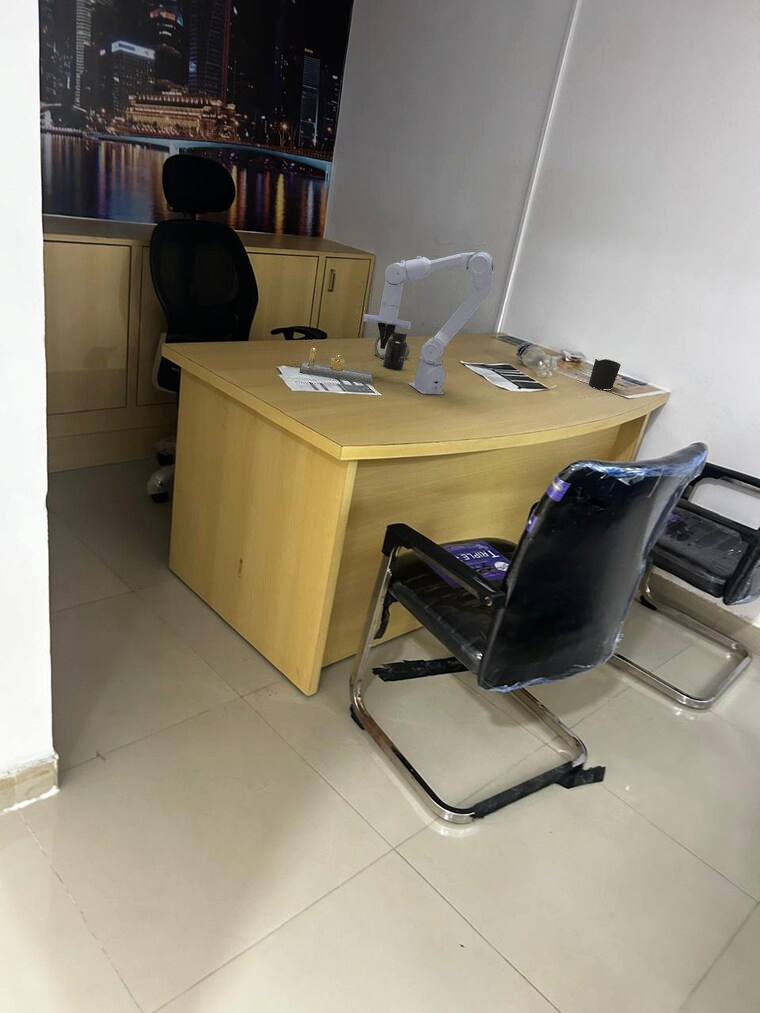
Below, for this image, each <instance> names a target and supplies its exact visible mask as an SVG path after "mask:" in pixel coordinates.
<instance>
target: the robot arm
mask: <svg viewBox="0 0 760 1013" xmlns="http://www.w3.org/2000/svg"><path fill="white" fill-rule="evenodd" d="M454 268H459V269H461V270H463V271H468V270H469V272H470V275H471V277H472V283H473V290H472V291H471V292H470V293H469V295H468V296H467V297H466V298H465V299H464V300H463V302H462V303H461V304H460V305H459V307H458V308H457V309H456V310H455V312H454V313H453V314H452V315H451V316H450V317H449V319H448V320H447V321H446V323H445V324H443V326H442V327H441V328H440V330H438V332H437V333H436V335H435V336H432V337H430V338H428V339H427V341H426V342H425V343H424V344H423V345H422V346H421V347H420V356H419V358H418V364H417V368H416V371H415V372H416V374H415V377H414V381H413V382H408V385H409V386H411V387H412V388H414V389H415V390H416V391H418V392H419V393H420V394H422V395H423V394H424V395H444V394H445V393H444V392H443V389H444V385H445V381H446V376H447V375H446V374H447V373H446V370H445V369H444V368H443V360H442V357H441V356H443V354H444V353H445V351H446V347H447V346H448V344H449V343H450V341H451V340H452V339H453V338H454V337H455V335H456V334H458V332H459V331H460V330H461V328H462V327H463V326H464V325H465V324H466V322H467V321H468V320H469V319H470V318H471V317H472V316H473V315H474V313H475V312H476V311H477V309H479V307H480V306H481V305H482V304H483V302H484V301H485V300H486V299H487V298H488V296H490V294H491V292H492V288H493V281H494V280H493V279H494V273H495V265H494V259H493V257H492V255H491V254H490V253H489V252H487V251H478V252H472V251H470V252H461V253H457V254H454V255H453V254H452V255H449V256H444V257H441V258H436V259H432V260H430V259H429V258H427V257H425V256H423V257H422V255H419V256H418V255H417V256H416V257H415V258H414V259H409V260H405V259H402V260H400V262H394V263H391V264H389V265H388V266H387V267H386V269H385V271H384V277H385V281H384V286H383V292H382V296H381V297H382V298H381V303H380V308H379V312H378V313H379V314H378V315H376V314H368V313H367V314H366V313H364V314H363V322H365V323H366V322H367V323H373V324H377V328H378V331H379V333H378V334H379V336H380V348H381V349H385V347H386V344H387V342H388V340H389V338H390V337H391V335H392V334H393V332H394V331H395V330H396V327H397V328H403V329H406V330H411V326H412V323H411V321H407V320H403V319H399V318H398V316H399V312H400V306H401V302H402V295H403V288H404V283H405V281H407V282H411V281H415V280H420V279H426V278H428V277H429V276H430V275H431V273H432V272H436V271H442V270H450V269H454ZM384 336H385V337H384Z"/></svg>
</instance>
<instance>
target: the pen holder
mask: <svg viewBox="0 0 760 1013" xmlns="http://www.w3.org/2000/svg"><path fill="white" fill-rule="evenodd" d="M621 366H622V365H621V363H620V362H618V361H614V360H611V359H606V358H605V359H599V360H598V359H597V358H595V359H594V363H593V367H592V370H591V374H590V377H589V382H588V385H589V387H591V386H592V387H591V388H593V387H595V388H597V389H596V390H599V389H611V388H612V389H613V387H614V385H615V382H616V380H617V376H618V374H619V371H620V369H621ZM595 388H594V389H595Z"/></svg>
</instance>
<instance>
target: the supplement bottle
mask: <svg viewBox="0 0 760 1013" xmlns="http://www.w3.org/2000/svg"><path fill="white" fill-rule="evenodd" d="M391 336H392V338H390V339H389V340H388V342H387V347H386V352H385V357H384V358H383V367H384V368H387V369H390V370H393V371H402V370H403V369H404V364H405V360H406V358H405V355H406V350H407V342H408V341H407V332H405V331H402V330H398V331H397V329H395V331H394V332H393V334H392V335H391ZM405 339H406V341H405Z"/></svg>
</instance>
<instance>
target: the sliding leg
mask: <svg viewBox="0 0 760 1013" xmlns="http://www.w3.org/2000/svg"><path fill="white" fill-rule="evenodd" d="M341 357H342V355H341V354H337V353H336V354H335V357H331V358H330V364H329V365H330V368H331V369H335V370H343V367H344V366H345V359H342V358H341Z"/></svg>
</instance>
